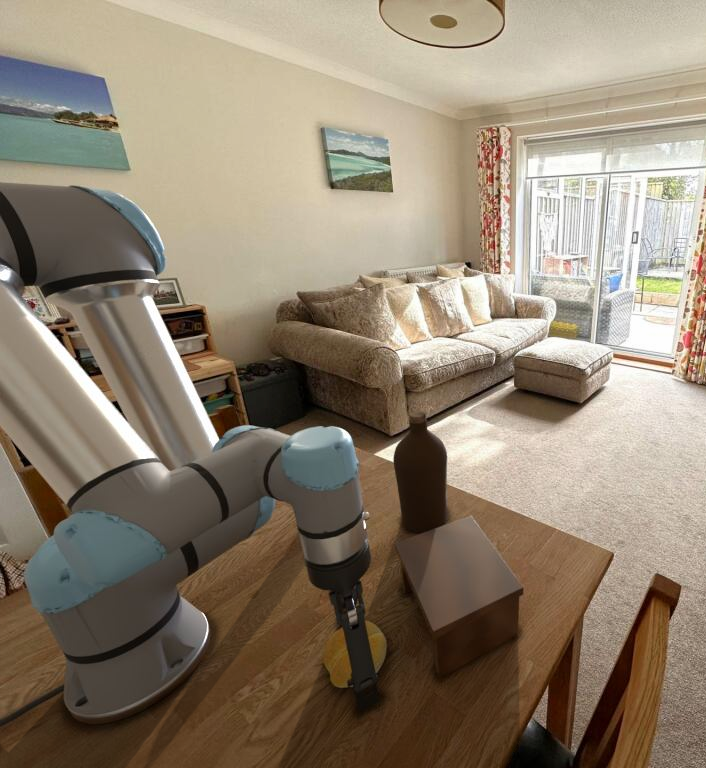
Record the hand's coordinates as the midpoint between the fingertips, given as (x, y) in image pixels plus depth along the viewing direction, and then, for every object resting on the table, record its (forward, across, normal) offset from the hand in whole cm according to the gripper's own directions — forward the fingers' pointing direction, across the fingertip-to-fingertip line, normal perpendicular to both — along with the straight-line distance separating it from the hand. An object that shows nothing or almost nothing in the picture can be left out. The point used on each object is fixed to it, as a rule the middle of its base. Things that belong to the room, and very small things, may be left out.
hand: (357, 658), depth 59 cm
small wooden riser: (0, 0, -16) cm, 16 cm away
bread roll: (0, 0, 0) cm, 0 cm away
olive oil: (0, +24, -19) cm, 31 cm away
